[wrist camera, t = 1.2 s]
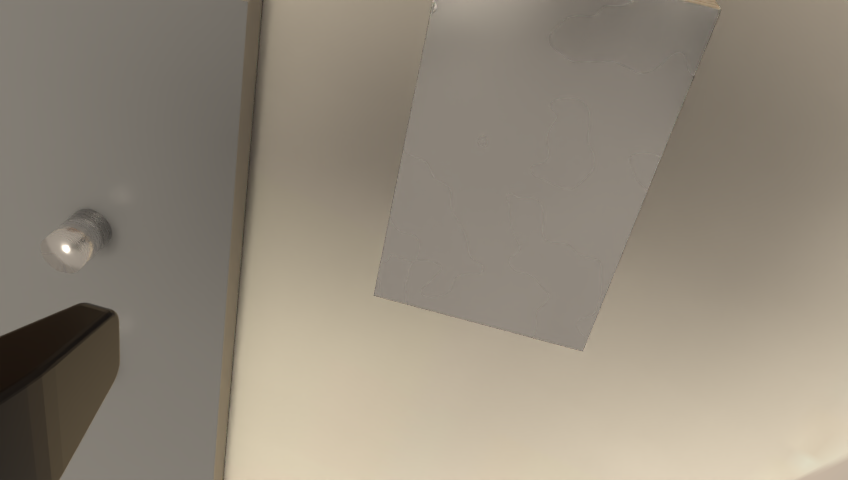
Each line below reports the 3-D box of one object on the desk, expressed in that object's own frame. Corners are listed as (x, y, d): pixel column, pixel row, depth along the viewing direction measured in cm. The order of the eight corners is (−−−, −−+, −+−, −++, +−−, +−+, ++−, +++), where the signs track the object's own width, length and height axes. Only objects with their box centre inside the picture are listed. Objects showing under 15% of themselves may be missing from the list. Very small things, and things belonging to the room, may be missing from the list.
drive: (701, -60, 16) (732, -19, 13) (581, 259, 21) (582, 351, 18) (476, -114, 17) (450, -88, 13) (406, 213, 21) (373, 295, 18)
